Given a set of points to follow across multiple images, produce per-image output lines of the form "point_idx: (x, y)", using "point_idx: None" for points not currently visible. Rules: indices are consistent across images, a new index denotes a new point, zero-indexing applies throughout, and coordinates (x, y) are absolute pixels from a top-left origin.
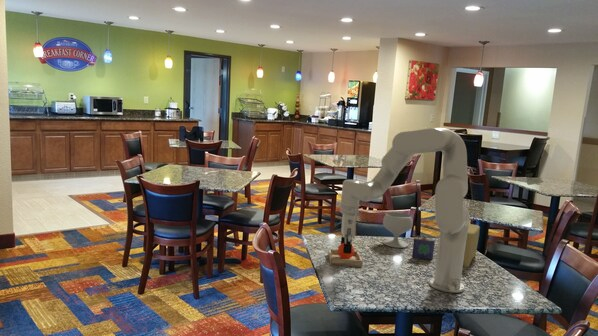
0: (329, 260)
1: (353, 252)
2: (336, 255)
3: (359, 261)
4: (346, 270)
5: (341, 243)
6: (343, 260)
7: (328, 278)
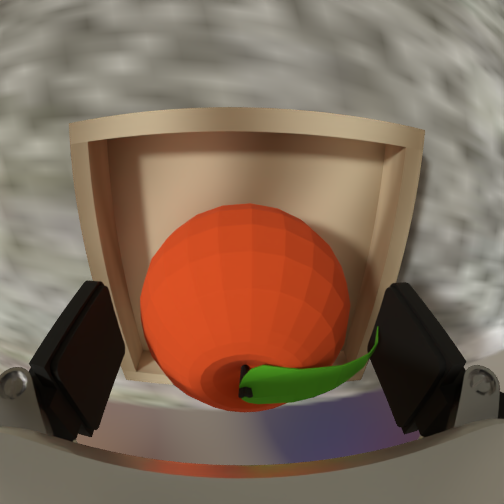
0: None
1: (309, 228)
2: None
3: (418, 163)
4: (449, 264)
5: (118, 370)
6: None
7: (494, 340)
